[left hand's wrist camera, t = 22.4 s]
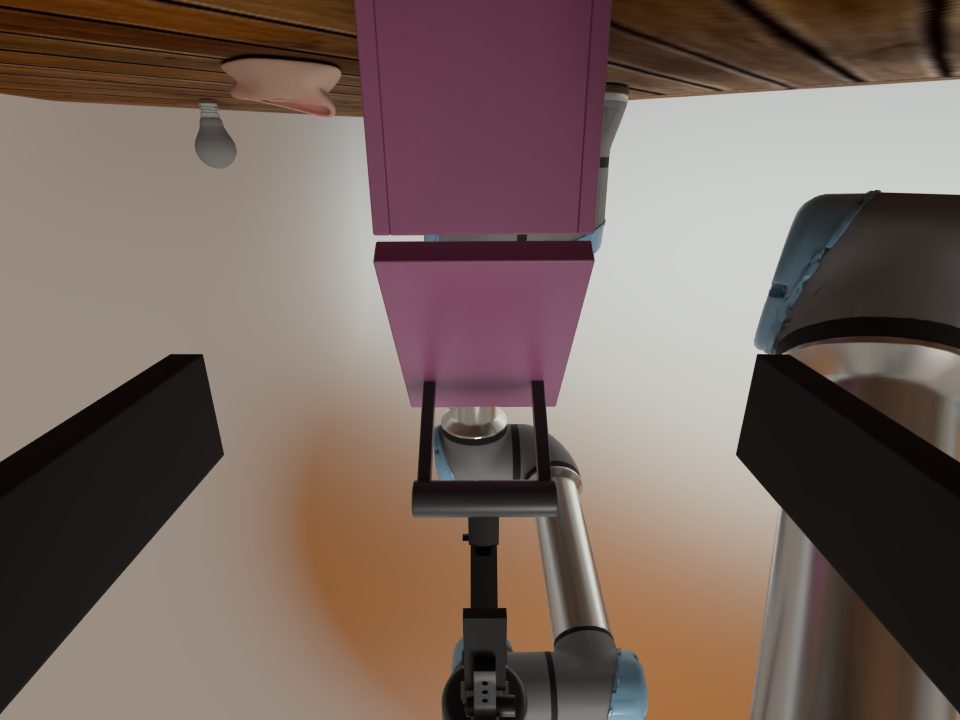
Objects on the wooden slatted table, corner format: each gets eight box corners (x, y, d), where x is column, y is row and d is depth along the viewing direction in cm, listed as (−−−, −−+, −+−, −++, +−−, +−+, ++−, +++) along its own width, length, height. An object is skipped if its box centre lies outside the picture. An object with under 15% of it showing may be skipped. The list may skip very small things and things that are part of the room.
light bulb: (219, 98, 78) (232, 168, 82) (233, 102, 84) (244, 167, 88) (178, 98, 78) (193, 169, 82) (195, 102, 83) (207, 168, 87)
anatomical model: (224, 107, 45) (358, 110, 49) (215, 54, 43) (353, 61, 47) (231, 116, 56) (339, 118, 60) (224, 75, 55) (335, 79, 58)
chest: (562, 3, 30) (553, 204, 34) (400, 4, 30) (411, 205, 34) (620, -100, 17) (594, 234, 22) (345, -98, 17) (373, 235, 22)
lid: (554, 390, 34) (567, 530, 29) (412, 391, 34) (402, 531, 29) (591, 239, 22) (623, 432, 17) (375, 240, 22) (348, 434, 17)
